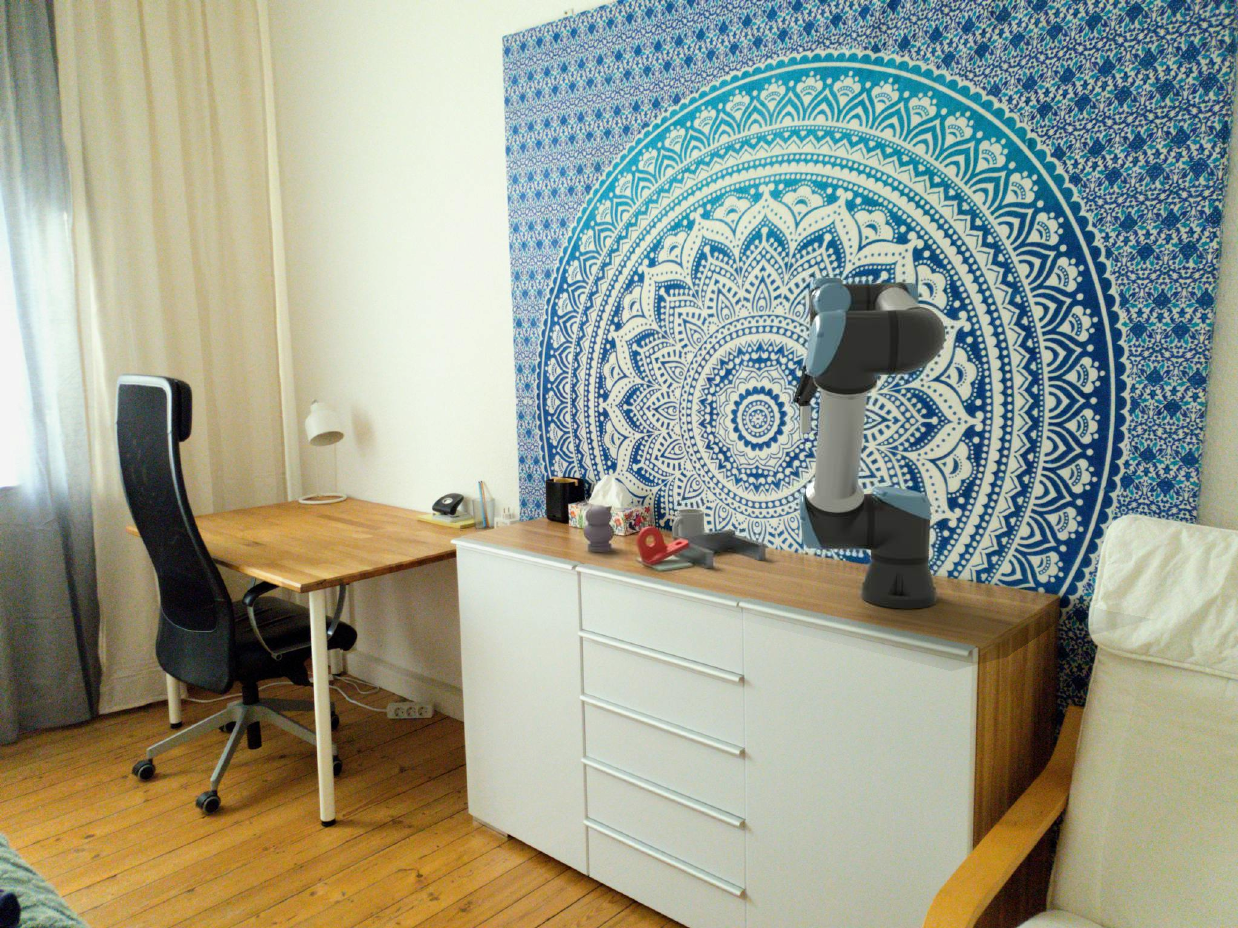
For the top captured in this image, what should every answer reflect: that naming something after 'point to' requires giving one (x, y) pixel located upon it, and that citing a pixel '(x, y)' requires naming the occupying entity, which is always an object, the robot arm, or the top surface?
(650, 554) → the bracket
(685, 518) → the cup
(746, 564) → the top surface
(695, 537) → the grey u-shaped frame
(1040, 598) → the top surface
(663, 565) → the mat
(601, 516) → the cat figurine
